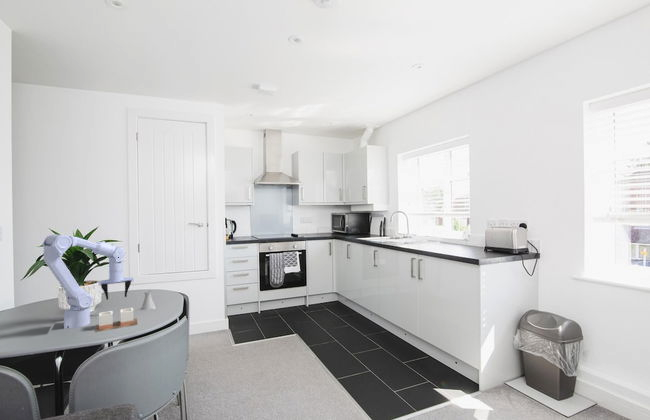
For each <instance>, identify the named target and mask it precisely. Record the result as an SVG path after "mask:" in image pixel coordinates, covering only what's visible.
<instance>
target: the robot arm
mask: <svg viewBox="0 0 650 420" xmlns="http://www.w3.org/2000/svg"><path fill="white" fill-rule="evenodd" d="M76 246H77V247H81V248H83V249H89V250H92V251H91V252H93V253H94V254H98V255H100V256H105V257H107V258H108V267H109V269H108V273H109V275H108V277H109V278H108V279H104V280H98V287H99V286H100V287H101V289H102V291H103V293H104V295H105V298H106V301H107V300H109V293H108V287H109V286H108V285H114V284H123V283H124V298H127V293H128V292H129V290H130V287H131V284H132V283H133V282H134V277H132V276H131V277H124V269H123V268H124V263H123V262H124V256H125V255H126V251H125V250H124V248H123V247H121V246H116V245H115V244H113V243H112V244H110V243H107V242H106V241H104V240H101V241H96V242H92V241H90V240H88V239H84V238H81V237H78V236H72V235H68V234H58V233H57V234H56V233H51V234H49V235H47V236H46V238H45V239H44V241H43V243H42V247H43V261H44V262H45V264H46V265H47V267H48V268H49V270H50V271H51V273H52V275H54V278H55V279H56V280H57V281H58V282H59V284H60V286H61V288H62V289H63V290H64V292H65V293H64V294H65V297H66V303H67V304H68V305H69V306H70V308H69V309H65V310H64V313H63V329H64V330H66V329H73V328H79V327H85V326H87V325H90V324H91V305H92V304H93V301H94V300H93V296H92V295H91V294H88V293H87V292H86V291H85V290H84V288H82V287H80V285H79V284H78V282H77V281H76V279H75V277H74V276H73V274H72V273H71V272H70V269H68V267H67V265H66V263H65V262H64V261H63V260H62V257H63V255H64V253H66V251H67V250H68V249H70V247H71V248H72V247H76ZM118 257H119V258H118ZM115 264H116V265H115Z"/></svg>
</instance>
